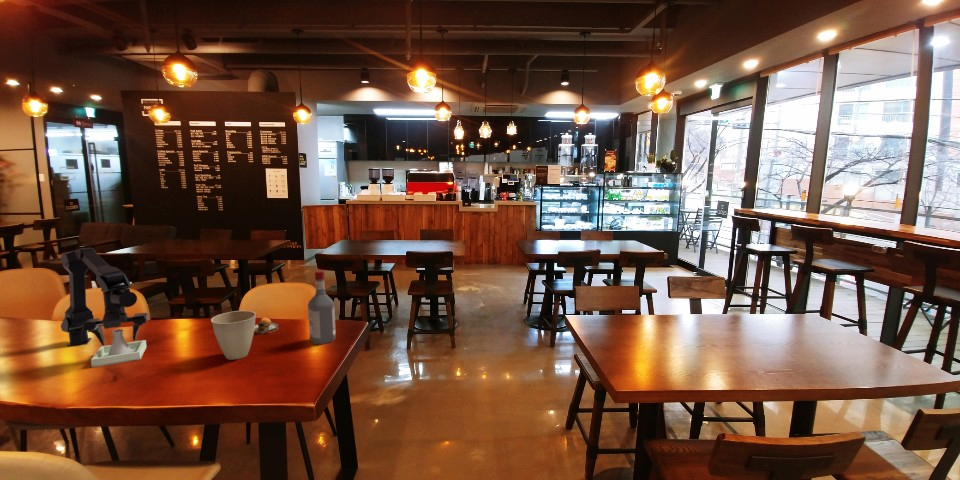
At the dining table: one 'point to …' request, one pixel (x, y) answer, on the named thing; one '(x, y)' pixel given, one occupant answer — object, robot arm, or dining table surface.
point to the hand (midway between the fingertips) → (119, 342)
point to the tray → (103, 358)
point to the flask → (119, 344)
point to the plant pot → (234, 332)
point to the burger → (265, 326)
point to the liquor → (321, 314)
